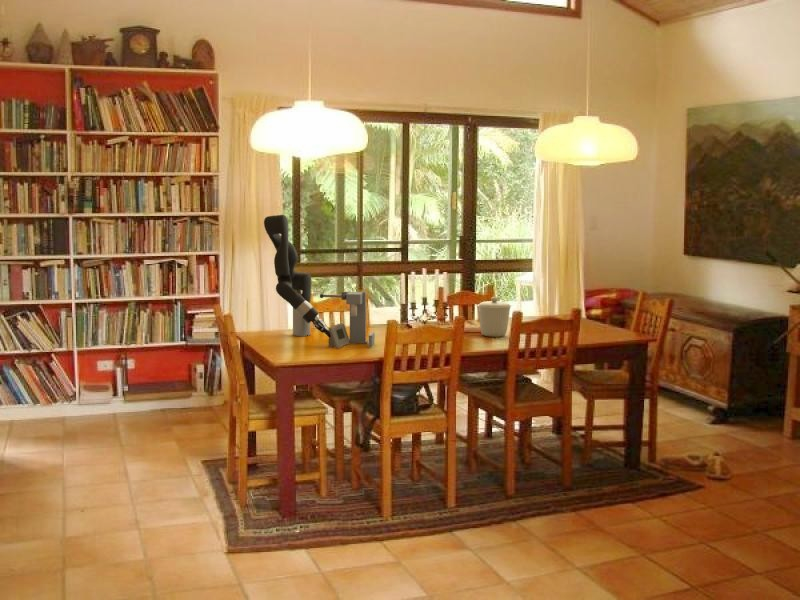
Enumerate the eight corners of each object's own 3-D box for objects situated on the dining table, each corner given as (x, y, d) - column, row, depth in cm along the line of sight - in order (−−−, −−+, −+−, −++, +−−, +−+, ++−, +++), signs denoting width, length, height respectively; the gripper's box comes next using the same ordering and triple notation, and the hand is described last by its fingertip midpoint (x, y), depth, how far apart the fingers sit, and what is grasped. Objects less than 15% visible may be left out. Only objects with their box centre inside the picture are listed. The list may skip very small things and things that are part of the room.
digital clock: (337, 349, 420) (337, 327, 419) (322, 347, 425) (322, 326, 423) (355, 344, 434) (355, 323, 433) (340, 342, 439) (340, 322, 437)
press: (342, 342, 440) (342, 291, 436) (375, 343, 438) (375, 292, 435) (337, 347, 426) (337, 294, 423) (371, 347, 425) (372, 295, 422)
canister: (499, 339, 452) (500, 299, 449) (470, 335, 462) (470, 296, 460) (516, 335, 466) (517, 296, 463) (488, 331, 477) (488, 293, 474)
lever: (320, 297, 436) (320, 293, 436) (347, 298, 435) (347, 293, 434) (319, 298, 433) (319, 293, 433) (346, 298, 432) (346, 294, 432)
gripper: (309, 308, 423) (334, 333, 423) (315, 304, 436) (339, 329, 436) (299, 318, 424) (323, 343, 424) (304, 314, 437) (328, 339, 437)
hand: (331, 336), depth 430 cm, fingers closed
